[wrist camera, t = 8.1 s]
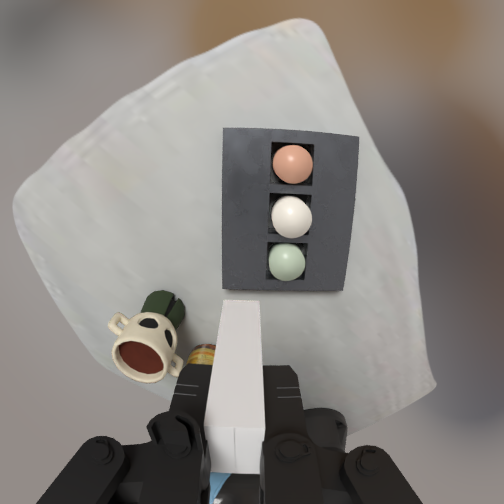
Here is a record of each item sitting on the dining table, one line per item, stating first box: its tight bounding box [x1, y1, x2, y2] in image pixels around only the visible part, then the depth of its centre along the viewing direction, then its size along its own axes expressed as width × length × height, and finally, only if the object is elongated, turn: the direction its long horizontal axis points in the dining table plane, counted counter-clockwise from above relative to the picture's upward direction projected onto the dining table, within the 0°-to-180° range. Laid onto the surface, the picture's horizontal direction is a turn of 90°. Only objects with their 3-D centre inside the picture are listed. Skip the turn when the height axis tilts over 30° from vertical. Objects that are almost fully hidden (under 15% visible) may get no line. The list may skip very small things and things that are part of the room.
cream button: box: [271, 195, 312, 238], centre depth 34 cm, size 4×4×4 cm
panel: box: [222, 128, 359, 291], centre depth 36 cm, size 20×16×3 cm
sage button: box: [268, 242, 305, 281], centre depth 38 cm, size 4×4×4 cm
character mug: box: [108, 290, 184, 383], centre depth 36 cm, size 11×7×13 cm, turn 47°
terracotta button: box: [272, 145, 313, 184], centre depth 34 cm, size 4×4×4 cm
